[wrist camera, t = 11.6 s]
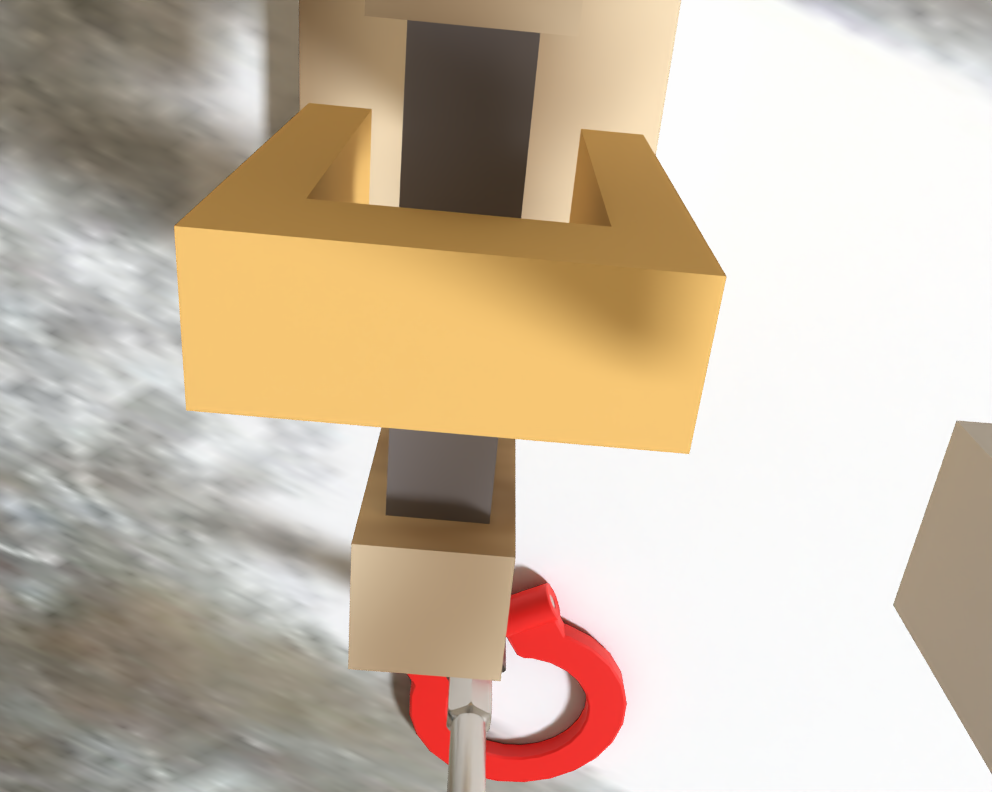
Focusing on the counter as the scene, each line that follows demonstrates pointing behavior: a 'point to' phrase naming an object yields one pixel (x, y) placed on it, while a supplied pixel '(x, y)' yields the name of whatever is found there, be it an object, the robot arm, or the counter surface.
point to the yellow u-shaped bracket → (447, 299)
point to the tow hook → (468, 704)
